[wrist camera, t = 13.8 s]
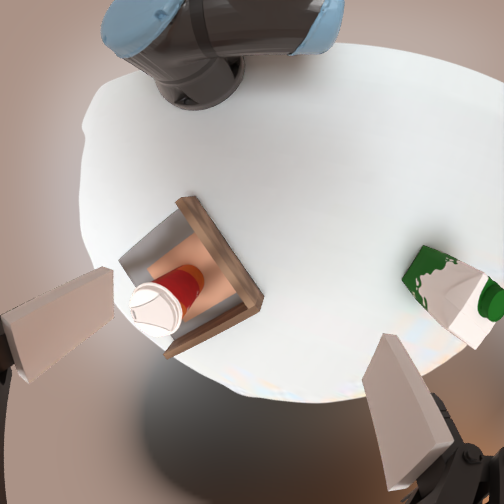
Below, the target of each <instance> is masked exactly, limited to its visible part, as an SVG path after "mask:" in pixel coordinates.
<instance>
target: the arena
mask: <svg viewBox="0 0 504 504" xmlns="http://www.w3.org/2000/svg"><path fill="white" fill-rule="evenodd" d="M175 203H176V205H177V206H178V208H179V209H178V210H176V211H175V212H174V213H173V214H171V215H170V216H169V217H168V218H166V219H165V220H164V221H163V222H162V223H160V224H159V225H158V226H157V227H156V228H154V229H153V230H152V231H151V232H150V233H148V234H147V235H146V236H145V237H144V238H143V239H141V240H140V241H139V242H138V243H137V244H136V245H135V246H133V247H132V248H131V249H130V250H129V251H128V252H127V253H126V254H124V255H123V256H122V257H121V258H120V259H119V260H118V261H119V262H120V264H121V266H122V267H123V269H124V270H125V272H126V273H127V275H128V276H129V278H130V279H131V281H132V282H133V284H134V285H135V287H136V288H137V287H138V286H139V285H141V284H143V283H149V282H151V281H153V280H155V279H157V278H159V277H160V276H162V275H164V274H166V273H168V272H170V271H172V270H174V269H176V268H178V267H180V266H182V265H193V266H195V267H197V268H198V269H199V270H200V271H201V273H202V274H203V277H204V287H203V289H202V291H201V292H200V294H199V295H198V297H197V298H196V300H195V301H194V303H193V304H192V305H191V307H190V308H189V310H188V311H187V313H186V314H185V315H184V317H183V318H182V320H181V324H180V326H179V328H178V329H177V331H175V332H174V333H173V334H171V336H172V338H173V339H174V341H173V342H172V344H171V345H170V346H169V347H168V349H167V350H166V351H165V353H164V354H163V355H164V356H165V357H166V359H169V358H171V357H173V356H175V355H177V354H180V353H182V352H184V351H186V350H188V349H190V348H192V347H194V346H196V345H198V344H200V343H202V342H204V341H206V340H207V339H209V338H211V337H213V336H215V335H217V334H219V333H221V332H223V331H225V330H227V329H229V328H230V327H232V326H234V325H236V324H238V323H240V322H242V321H244V320H245V319H247V318H249V317H251V316H253V315H254V314H256V313H258V312H260V309H261V306H262V302H263V299H264V295H263V294H262V293H261V291H260V290H259V288H258V287H257V285H256V284H255V282H254V281H253V280H252V278H251V277H250V275H249V274H248V272H247V271H246V269H245V268H244V267H243V265H242V264H241V262H240V261H239V259H238V258H237V256H236V255H235V253H234V252H233V251H232V249H231V248H230V246H229V245H228V243H227V242H226V240H225V239H224V237H223V236H222V234H221V233H220V232H219V230H218V229H217V227H216V226H215V224H214V223H213V221H212V220H211V218H210V217H209V215H208V214H207V212H206V211H205V209H204V208H203V206H202V205H201V203H200V202H199V201H198V199H197V198H196V196H192V197H181V198H180V199H178V200H177V201H176V202H175Z"/></svg>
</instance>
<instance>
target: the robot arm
mask: <svg viewBox="0 0 504 504" xmlns="http://www.w3.org/2000/svg"><path fill="white" fill-rule="evenodd" d="M344 3H345V2H344V0H114V1H113V3H112V4H111V5H110V7H109V9H108V10H107V12H106V14H105V16H104V18H103V21H102V25H101V38H102V40H103V42H104V44H105V45H106V46H107V47H108V48H110V49H111V50H112V51H114V52H115V54H116V55H117V56H118V57H120V58H122V59H124V60H126V61H127V62H129V63H131V64H132V65H134V66H135V67H137V68H139V69H140V70H142V71H143V72H145V73H146V74H148V75H150V76H151V77H153V78H154V80H155V82H156V84H157V87H158V89H159V91H160V93H161V95H162V96H163V97H164V98H165V99H166V100H167V101H168V102H170V103H171V104H173V105H175V106H176V107H179V108H181V109H185V110H203V109H207V108H210V107H213V106H215V105H217V104H219V103H221V102H222V101H224V100H225V99H227V98H228V97H229V96H230V95H231V94H232V93H233V92H234V91H235V90H236V89H237V87H238V86H239V84H240V82H241V80H242V78H243V75H244V68H245V65H244V59H243V56H244V55H265V54H287V55H288V56H294V55H296V54H322V53H324V52H326V51H328V50H329V49H330V48H331V47H332V46H333V44H334V42H335V41H336V38H337V36H338V33H339V30H340V26H341V22H342V18H343V12H344ZM113 318H114V299H113V270H111V269H108V268H105V267H100V268H98V269H95V270H93V271H91V272H89V273H87V274H84V275H82V276H80V277H78V278H76V279H73V280H71V281H69V282H67V283H65V284H63V285H61V286H59V287H56V288H54V289H52V290H50V291H48V292H46V293H44V294H42V295H40V296H38V297H36V298H33V299H31V300H29V301H27V302H26V303H23V304H21V305H20V306H17V307H15V308H13V309H12V310H10V311H8V312H6V313H4V314H2V315H0V504H7V500H6V492H5V481H4V431H5V418H6V409H7V400H8V394H9V388H10V382H11V377H12V370H11V366H12V365H13V364H15V366H16V369H17V372H18V374H19V376H20V377H22V378H23V379H24V380H25V381H26V382H27V383H29V384H30V383H32V382H33V381H34V380H35V379H36V378H38V377H39V376H40V375H41V374H43V373H44V372H45V371H46V370H48V369H49V368H50V367H51V366H53V365H54V364H55V363H56V362H58V361H59V360H60V359H62V358H63V357H64V356H65V355H67V354H68V353H69V352H70V351H72V350H73V349H74V348H75V347H77V346H78V345H79V344H81V343H82V342H83V341H85V340H86V339H87V338H89V337H90V336H91V335H92V334H94V333H95V332H96V331H98V330H99V329H100V328H101V327H103V326H104V325H106V324H107V323H108V322H109V321H111V320H112V319H113ZM362 382H363V386H364V389H365V393H366V397H367V400H368V404H369V407H370V411H371V415H372V419H373V423H374V427H375V431H376V436H377V440H378V444H379V449H380V453H381V458H382V462H383V467H384V472H385V477H386V483H387V488H388V491H392V490H399V489H405V488H407V487H408V486H410V485H411V484H412V483H413V482H414V481H415V480H417V484H418V487H417V488H415V489H414V490H413V491H412V492H410V493H409V494H408V495H407V496H405V497H404V498H403V499H402V500H401V502H404V501H405V500H406V499H408V500H407V502H406V503H405V504H482V501H483V499H484V498H486V497H487V496H488V495H489V501H488V502H487V503H486V504H504V447H503V448H501V449H500V450H499V451H498V452H497V453H496V454H495V456H484V455H483V453H482V451H481V450H480V449H479V448H478V447H477V446H475V445H474V444H470V443H464V442H463V440H462V438H461V436H460V434H459V432H458V430H457V428H456V426H455V424H454V422H453V420H452V419H450V415H449V413H448V411H447V409H446V407H445V405H444V403H443V402H442V401H441V400H440V398H439V397H438V396H437V395H435V393H430V391H429V389H428V388H427V386H426V384H425V382H424V380H423V379H422V377H421V375H420V373H419V372H418V370H417V368H416V366H415V365H414V363H413V361H412V359H411V358H410V356H409V354H408V353H407V351H406V349H405V348H404V346H403V344H402V343H401V341H400V340H399V338H398V336H397V335H391V334H385V333H383V335H382V337H381V339H380V342H379V344H378V346H377V349H376V351H375V353H374V355H373V357H372V360H371V362H370V364H369V366H368V368H367V370H366V372H365V374H364V376H363V378H362Z"/></svg>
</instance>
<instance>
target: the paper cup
mask: <svg viewBox="0 0 504 504" xmlns="http://www.w3.org/2000/svg"><path fill="white" fill-rule="evenodd" d="M203 287H204V277H203V274H202V273H201V271H200V270H199V269H198V268H197V267H195V266H193V265H182V266H180V267H178V268H176V269H174V270H172V271H170V272H168V273H166V274H164V275H162V276H160V277H159V278H157V279H155V280H153V281H151V282H149V283H143V284H141V285H139V286H138V287H137V288H136V289H135V290H134V292H133V294H132V297H131V299H130V303H129V308H130V307H131V308H130V309H131V314H132V317H133V319H134V320H135V322H134V323H135V324H136V325H137V327H138V328H139V329H140V330H142V331H143V332H144V333H146V334H148V335H150V336H154V337H163V336H167V335H171V334H173V333H174V332H175V331H177V329H178V328H179V326H180V324H181V320H182V318H183V317H184V315H185V314H186V313H187V311H188V310H189V308H190V307H191V305H192V304H193V303H194V301H195V300H196V298H197V297H198V295H199V294H200V292H201V291H202V289H203Z"/></svg>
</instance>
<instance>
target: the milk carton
mask: <svg viewBox="0 0 504 504" xmlns="http://www.w3.org/2000/svg"><path fill="white" fill-rule="evenodd" d="M402 281H403V282H404V284H405V285H406V286H407V288H408V289H409V290H410V292H411V293H412V295H413V296H414V297H415V299H416V300H417V301H418V302H419V303H420V304H421V305H422V306H423V307H424V308H425V309H426V310H427V312H428V313H429V314H430V315H431V316H432V317H433V318H434V319H435V320H436V321H437V322H438V323H439V324H440V325H441V326H442V327H444V328H445V329H446V330H448V331H449V332H450V333H452V334H453V335H454V336H456V337H457V338H459V339H460V340H462V341H463V342H465V343H466V344H468V345H469V346H471V347H472V348H473V349H475V350H476V349H477V347H478V346H479V345H480V343H481V342H482V340H483V339H484V337H485V336H486V335H488V333H489V332H490V331H491V329H492V327H493V325H494V324H495V322H496V321H498V320H500V319H501V318H502V317H503V315H504V289H503V288H501V287H500V286H499V285H498V284H497V283H496V282H495V281H493V280H492V279H491V278H490V277H489V276H487V275H486V274H485V273H484V272H482V271H480V270H478V269H475V268H474V267H472V266H470V265H468V264H466V263H464V262H462V261H460V260H458V259H456V258H454V257H452V256H450V255H448V254H445V253H443V252H440V251H438V250H435V249H432V248H429V247H427V246H424V245H423V247H422V248H421V250H420V252H419V253H418V255H417V257H416V258H415V260H414V261H413V263H412V265H411V266H410V268H409V269H408V271H407V272H406V274H405V275H404V277H403V278H402Z"/></svg>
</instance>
